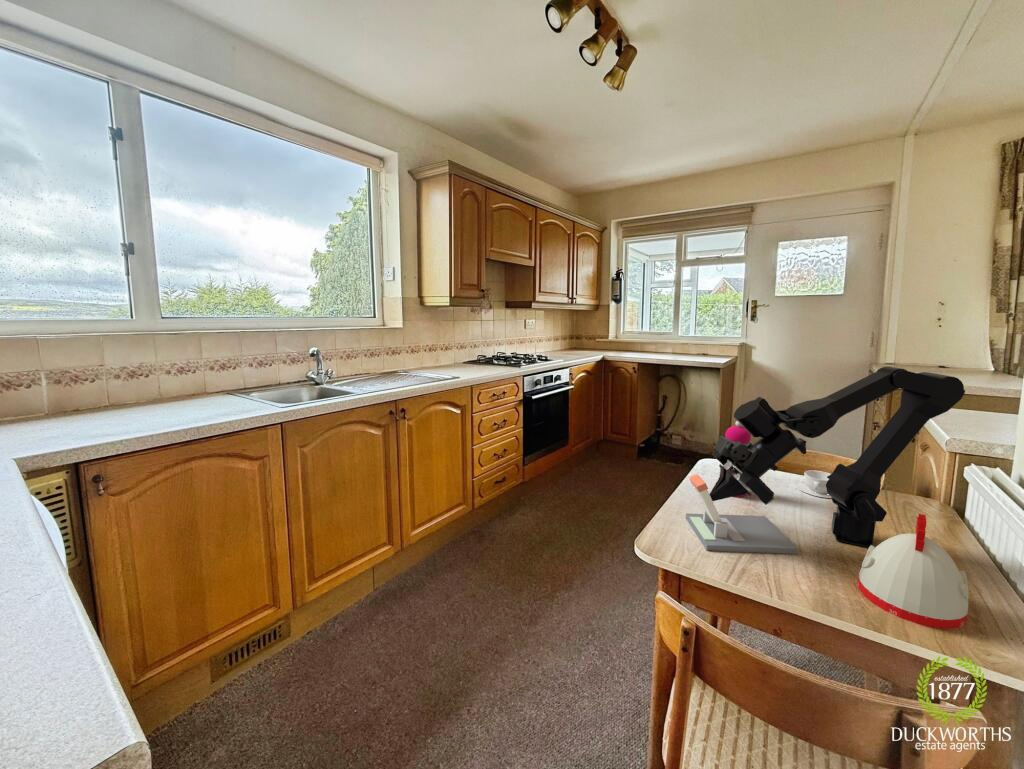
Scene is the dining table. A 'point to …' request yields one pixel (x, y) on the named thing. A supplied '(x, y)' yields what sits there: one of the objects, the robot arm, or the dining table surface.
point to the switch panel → (740, 534)
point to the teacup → (815, 483)
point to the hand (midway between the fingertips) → (709, 499)
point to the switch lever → (705, 497)
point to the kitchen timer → (915, 580)
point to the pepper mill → (738, 436)
